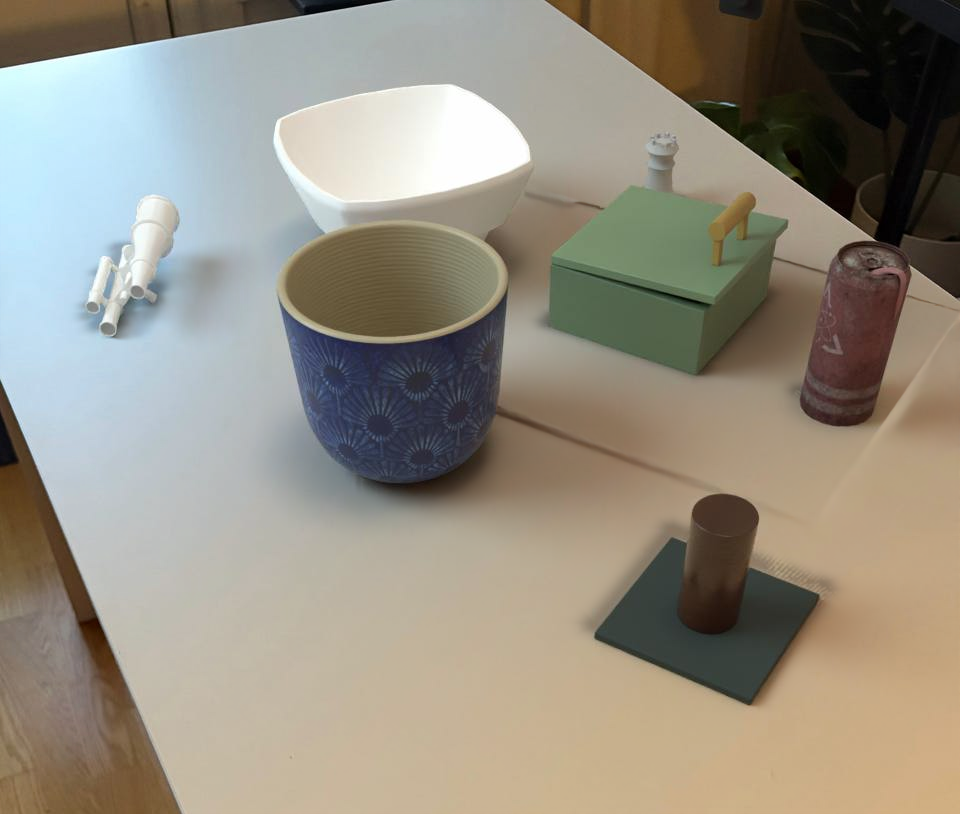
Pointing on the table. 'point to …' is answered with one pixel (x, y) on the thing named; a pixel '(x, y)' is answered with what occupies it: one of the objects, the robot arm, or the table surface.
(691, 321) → the box
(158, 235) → the white plastic piece
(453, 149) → the bowl
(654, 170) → the rook chess piece
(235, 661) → the table surface
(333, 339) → the planter
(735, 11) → the robot arm
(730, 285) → the lid
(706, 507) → the brown cylinder
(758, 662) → the mat
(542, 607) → the table surface
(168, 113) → the table surface
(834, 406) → the can
